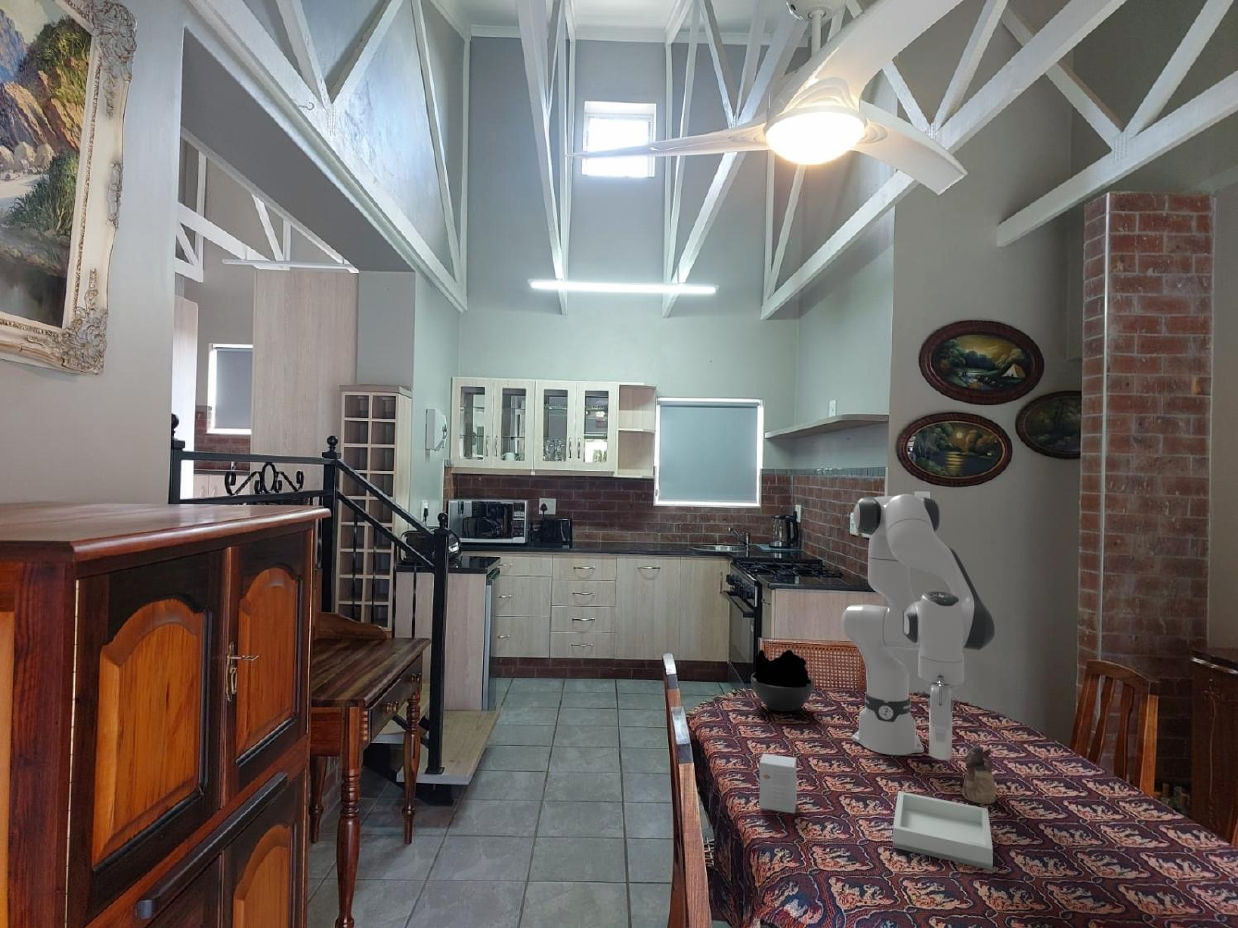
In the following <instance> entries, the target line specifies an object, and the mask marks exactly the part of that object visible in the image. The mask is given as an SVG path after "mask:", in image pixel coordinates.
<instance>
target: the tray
mask: <svg viewBox="0 0 1238 928" xmlns="http://www.w3.org/2000/svg"><path fill="white" fill-rule="evenodd" d="M894 810H895V812H894V818H893V823H892V824H893V825H892V848H895V849H899V850H903V851H907V852H910V853H911V852H912V853H916V854H921V855H924V856H929V857H934V858H938V859H942V860H947V861H951V862H954V863H955V862H956V863H960V864H962V865H963V864H964V865H969V866H973V867H977V868H980V869H981V868H982V869H986V870H991V871H994V870H993V867H994V865H993V864H994V861H993V860H994V855H993V854H994V848H993V842H992V841H993V840H992V834H991V826H990V825H991V824H990V819H989V817H990V816H989V811H988V810H989V809H988V808H986V807H981V806H976V805H971V804H966V803H960V802H956V801H955V802H954V801H951V800H944V799H940V798H935V797H930V796H924V795H919V794H915V793H910V792H904V791H899V790H898V792H897V797H896V805H895V809H894Z"/></svg>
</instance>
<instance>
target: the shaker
mask: <svg viewBox="0 0 1238 928" xmlns="http://www.w3.org/2000/svg"><path fill="white" fill-rule="evenodd" d="M927 701H928V702H927V707H928V708H929V709H928V715H929V716H928V717H929V718H928V755H929V757H932V758H934V759H937V760H941V761H949V760H952V758H953V711H954V701H953V700H952V699H951V717H950V729H946V732H945V742H938V741H936V731H935V727H932V726H931V723H930V697H928V699H927ZM940 706H942V705H940Z"/></svg>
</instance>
